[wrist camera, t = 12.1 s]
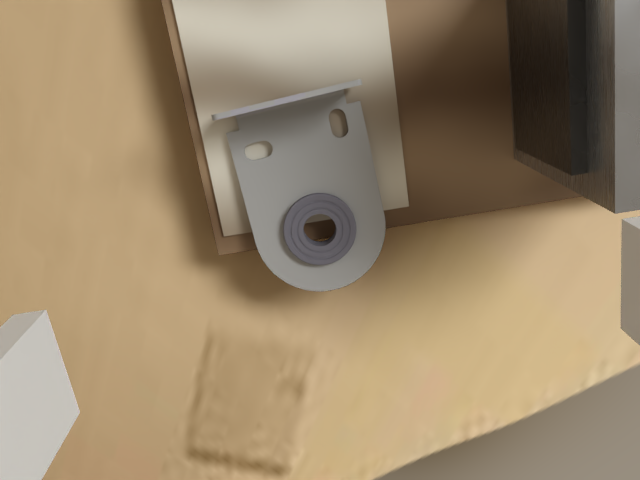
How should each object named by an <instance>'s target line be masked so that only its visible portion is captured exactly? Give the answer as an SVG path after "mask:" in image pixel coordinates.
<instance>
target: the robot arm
mask: <svg viewBox="0 0 640 480" xmlns="http://www.w3.org/2000/svg"><path fill="white" fill-rule="evenodd" d="M621 329H622V330H623V331H624V332H625V333H626V334H628V335H629V336H630V337H631V338H632V339H633V340H634V341H635V342H636V343H638V344H639V345H640V216H638V217H632V218H625V219H622V248H621ZM79 413H80V411H79V408H78V405H77V402H76V399H75V396H74V392H73V389H72V386H71V383H70V380H69V377H68V374H67V371H66V368H65V365H64V362H63V359H62V356H61V353H60V350H59V347H58V344H57V341H56V338H55V335H54V332H53V329H52V326H51V323H50V320H49V317H48V314H47V311H46V310H41V311H34V312H28V313H22V314H15V315H12V316H11V317H10V318H9V319H8V320H7V321H6V322H5V323H4V324H3V325H2V326H1V327H0V480H42V478H43V476H44V475H45V473H46V471H47V469H48V468H49V466H50V464H51V462H52V461H53V459H54V457H55V455H56V454H57V452H58V450H59V448H60V447H61V445H62V443H63V441H64V440H65V438H66V436H67V434H68V432H69V431H70V429H71V427H72V425H73V424H74V422H75V420H76V418H77V417H78V415H79Z"/></svg>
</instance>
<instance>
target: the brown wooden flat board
mask: <svg viewBox="0 0 640 480" xmlns="http://www.w3.org/2000/svg"><path fill="white" fill-rule="evenodd" d="M161 1H162V6H163V10H164V15H165V19H166V23H167V28H168V32H169V37H170V41H171V46H172V50H173V55H174V59H175V63H176V68H177V72H178V77H179V81H180V86H181V90H182V95H183V99H184V103H185V108H186V112H187V117H188V121H189V126H190V130H191V134H192V139H193V143H194V148H195V152H196V157H197V161H198V166H199V170H200V174H201V179H202V183H203V188H204V192H205V197H206V201H207V205H208V210H209V214H210V219H211V223H212V228H213V232H214V237H215V241H216V245H217V250H218V254H219V255H224V254H230V253H236V252H243V251H249V250H255V249H257V246H256V243H255V239H254V235H253V232H252V228H251V224H250V220H249V217H248V213H247V209H246V205H245V202H244V198H243V194H242V191H241V187H240V183H239V179H238V176H237V172H236V168H235V165H234V161H233V157H232V153H231V150H230V146H229V142H228V139H227V135H226V133H229V132H233V131H237V130H239V127H238V123H237V119H236V116H231V117H226V118H222V119H218V120H214V121H213V120H212V116H211V115H213V114H217V113H222V112H226V111H230V110H234V109H238V108H242V107H246V106H250V105H255V104H259V103H263V102H267V101H271V100H275V99H279V98H284V97H288V96H292V95H296V94H300V93H304V92H308V91H312V90H317V89H321V88H325V87H329V86H333V85H337V84H341V83H345V82H350V81H354V80H358V79H361V81H362V85H359V86H355V87H350V88H346V89H344V94H345V99H346V103H347V104H349V103H353V102H358V101H360V102H361V107H362V112H363V116H364V121H365V126H366V130H367V135H368V140H369V144H370V149H371V154H372V159H373V163H374V168H375V173H376V177H377V182H378V187H379V191H380V196H381V201H382V205H383V210H384V215H385V228H390V227H396V226H402V225H409V224H415V223H421V222H427V221H433V220H439V219H445V218H452V217H458V216H464V215H470V214H476V213H482V212H488V211H495V210H501V209H507V208H513V207H519V206H525V205H531V204H538V203H544V202H550V201H556V200H562V199H568V198H574V197H581V195H580V194H578V193H576V192H574V191H572V190H570V189H569V188H567V187H565V186H563V185H561V184H559V183H557V182H556V181H554V180H552V179H550V178H548V177H546V176H544V175H543V174H541V173H539V172H537V171H535V170H533V169H531V168H530V167H528V166H526V165H524V164H522V163H520V162H519V161H517V160H515V159H514V147H513V129H512V111H511V93H510V75H509V57H508V39H507V21H506V3H505V0H161ZM329 122H330V127H331V131H332V134H333V135H334V136H335V137H338V138H341V137H344V136H345V135H346V134H347V132H348V125H347V121H346V116H345V113H344V112H343V111H342V110H341V109H334V110H332V111H331V112H330V114H329ZM272 152H273V147H272V145H271V143H269V142H268V141H259V142H255V143H251V144H248V145H247V146H246V148H245V155H246V156H247V158H249V159H251V160H256V159H261V158H265V157H268V156H270V155H271V154H272ZM335 228H336V225H335V222H334V221H333V220H332V219H331V218H330V217H329V216H327V215H324V214H316V215H313V216H311V217H310V218H308V219H307V221H306V222H305V224H304V232H305V234H306V235H307V236H308V237H309V238H310V239H311V240H316V239H323V238H329V237H331V236H332V235H333V234H334V231H335Z"/></svg>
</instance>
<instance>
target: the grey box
mask: <svg viewBox="0 0 640 480" xmlns="http://www.w3.org/2000/svg"><path fill="white" fill-rule="evenodd" d="M505 3H506V21H507V39H508V57H509V75H510V93H511V111H512V129H513V147H514V159H515V160H517V161H519V162H520V163H522V164H524V165H526V166H528V167H530V168H531V169H533V170H535V171H537V172H539V173H541V174H543V175H544V176H546V177H548V178H550V179H552V180H554V181H556V182H557V183H559V184H561V185H563V186H565V187H567V188H569V189H570V190H572V191H574V192H576V193H578V194H580V195H581V196H583V197H585V198H587V199H589V200H591V201H593V202H594V203H596V204H598V205H600V206H602V207H604V208H606V209H607V210H609V211H611V212H613V213H615V214H616V213H622V212H629V211H635V210H640V0H505Z"/></svg>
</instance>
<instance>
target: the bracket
mask: <svg viewBox="0 0 640 480" xmlns="http://www.w3.org/2000/svg"><path fill="white" fill-rule="evenodd" d="M359 85H362V81H361V79H358V80H354V81H350V82H345V83H341V84H337V85H333V86H329V87H325V88H321V89H317V90H312V91H308V92H304V93H300V94H296V95H292V96H288V97H284V98H279V99H275V100H271V101H267V102H263V103H259V104H255V105H250V106H246V107H242V108H238V109H234V110H230V111H226V112H222V113H217V114H213V115H211V116H212V120H213V121H214V120H218V119H222V118H226V117H231V116H236V119H237V123H238V127H239V130H237V131H233V132H229V133H226V135H227V139H228V142H229V146H230V150H231V153H232V157H233V161H234V165H235V168H236V172H237V176H238V179H239V183H240V187H241V191H242V194H243V198H244V202H245V205H246V209H247V213H248V217H249V220H250V224H251V228H252V232H253V235H254V239H255V243H256V246H257V249H258V252H259V254H260V256H261V258H262V260H263V261H264V262H265V264H266V265H267V267H268V268H269V269H270V270H271V271H272V272H273V273H274V274H275V275H276V276H277V277H279V278H280V279H281V280H283V281H284V282H286V283H288V284H290V285H292V286H294V287H297V288H300V289H303V290H309V291H330V290H335V289H339V288H342V287H344V286H347V285H349V284H351V283H353V282H355V281H356V280H357V279H359V278H360V277H362V276H363V275H364V274H365V273H366V272H367V271H368V270H369V269H370V268H371V266H372V265H373V264H374V262H375V261H376V259H377V257H378V256H379V253H380V251H381V249H382V246H383V242H384V238H385V215H384V210H383V205H382V201H381V196H380V191H379V187H378V182H377V177H376V173H375V168H374V163H373V159H372V154H371V149H370V144H369V140H368V135H367V130H366V126H365V121H364V116H363V112H362V107H361V102H360V101H358V102H353V103H349V104H347V103H346V99H345V94H344V89H346V88H350V87H355V86H359ZM334 109H341V110H342V111H343V112H344V113H345V116H346V121H347V125H348V132H347V134H346V135H345V136H344V137H341V138H338V137H335V136H334V135H333V134H332V131H331V127H330V122H329V114H330V112H331V111H332V110H334ZM259 141H268V142H269V143H271V145H272V147H273V152H272V154H271V155H270V156H268V157H265V158H261V159H256V160H251V159H249V158H247V156H246V155H245V148H246V146H247V145H248V144H251V143H255V142H259ZM316 214H324V215H327V216H329V217H330V218H331V219H332V220H333V221H334V222H335V225H336V228H335V231H334V234H333V235H332V236H331V237H330V238H329V239H327V240H325V241H321V242H317V241H314V240H311V239H310V238H309V237H308V236H307V235H306V234H305V232H304V224H305V222H306V221H307V219H308V218H310V217H311V216H313V215H316Z"/></svg>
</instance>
